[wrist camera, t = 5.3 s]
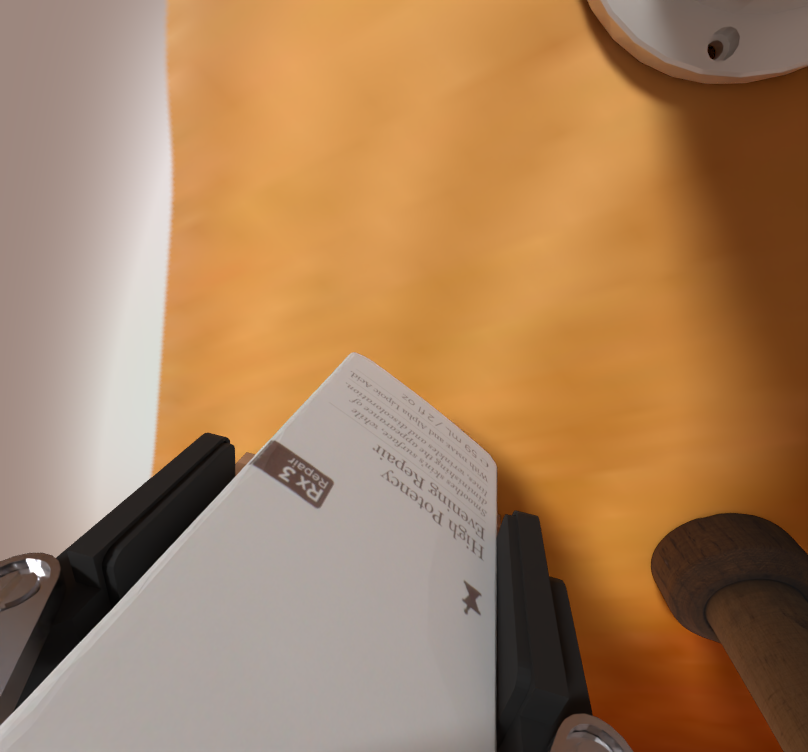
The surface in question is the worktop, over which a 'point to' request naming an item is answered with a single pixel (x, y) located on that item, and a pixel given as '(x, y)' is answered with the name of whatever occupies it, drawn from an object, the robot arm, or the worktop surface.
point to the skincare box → (305, 600)
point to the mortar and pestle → (746, 608)
